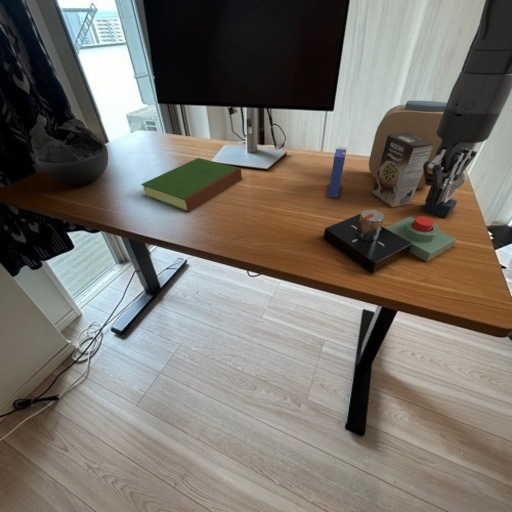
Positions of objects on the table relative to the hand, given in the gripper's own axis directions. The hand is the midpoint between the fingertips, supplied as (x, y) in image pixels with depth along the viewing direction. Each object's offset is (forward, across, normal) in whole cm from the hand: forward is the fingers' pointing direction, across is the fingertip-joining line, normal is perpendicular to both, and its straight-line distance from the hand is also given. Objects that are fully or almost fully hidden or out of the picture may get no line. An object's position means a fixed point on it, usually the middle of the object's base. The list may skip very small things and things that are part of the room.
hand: (431, 203), depth 54 cm
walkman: (+10, -3, -28) cm, 30 cm away
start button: (+6, 0, 0) cm, 6 cm away
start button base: (+10, 0, 0) cm, 10 cm away
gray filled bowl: (+10, +59, -81) cm, 101 cm away
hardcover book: (+10, +30, -56) cm, 64 cm away
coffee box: (+10, -13, -16) cm, 23 cm away
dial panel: (+10, +10, -5) cm, 15 cm away
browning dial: (+7, +11, -5) cm, 14 cm away
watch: (+10, -16, -5) cm, 20 cm away
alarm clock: (+10, -24, -21) cm, 34 cm away
